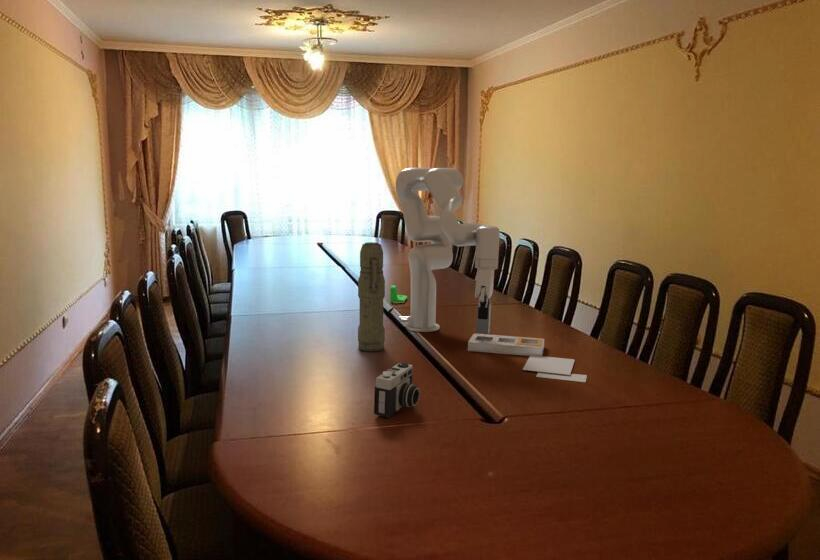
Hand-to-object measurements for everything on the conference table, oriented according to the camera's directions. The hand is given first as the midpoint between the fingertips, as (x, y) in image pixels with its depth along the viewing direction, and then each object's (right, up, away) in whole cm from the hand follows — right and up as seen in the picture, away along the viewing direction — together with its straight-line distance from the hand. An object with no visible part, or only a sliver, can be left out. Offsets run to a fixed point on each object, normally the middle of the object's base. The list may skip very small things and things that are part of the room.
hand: (483, 316), depth 215 cm
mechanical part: (-30, +2, +76) cm, 82 cm away
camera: (-27, -20, -56) cm, 65 cm away
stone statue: (-38, -10, -1) cm, 39 cm away
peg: (0, -5, +1) cm, 5 cm away
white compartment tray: (+7, -11, -1) cm, 13 cm away
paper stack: (+21, -15, -24) cm, 35 cm away
